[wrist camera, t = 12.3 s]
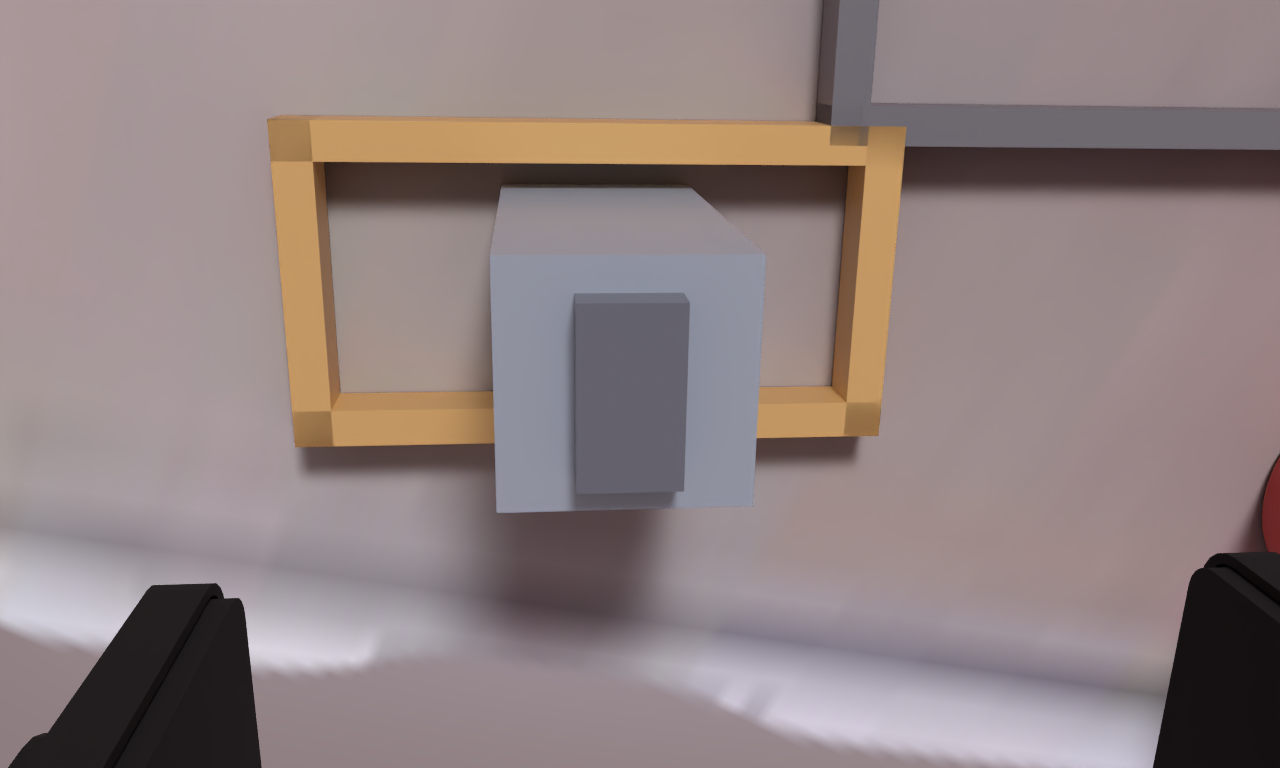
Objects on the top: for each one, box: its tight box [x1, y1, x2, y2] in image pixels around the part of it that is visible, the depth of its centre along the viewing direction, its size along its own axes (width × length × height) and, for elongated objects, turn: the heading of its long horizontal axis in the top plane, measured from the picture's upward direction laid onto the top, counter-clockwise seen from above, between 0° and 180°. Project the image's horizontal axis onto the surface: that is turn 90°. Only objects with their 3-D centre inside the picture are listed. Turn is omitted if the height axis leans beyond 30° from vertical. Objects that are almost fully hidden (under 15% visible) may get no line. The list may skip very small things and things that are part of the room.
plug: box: [490, 184, 766, 513], centre depth 24 cm, size 5×5×11 cm
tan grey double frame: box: [267, 0, 1280, 447], centre depth 28 cm, size 30×16×2 cm, turn 89°
